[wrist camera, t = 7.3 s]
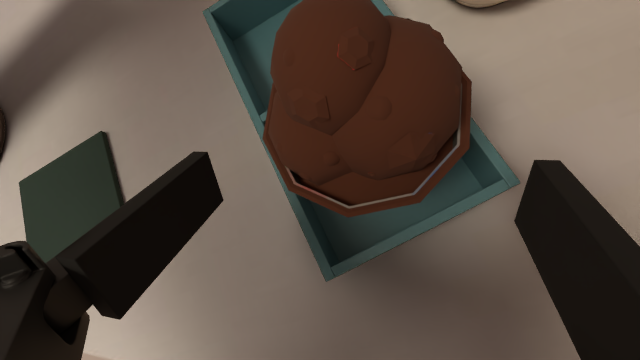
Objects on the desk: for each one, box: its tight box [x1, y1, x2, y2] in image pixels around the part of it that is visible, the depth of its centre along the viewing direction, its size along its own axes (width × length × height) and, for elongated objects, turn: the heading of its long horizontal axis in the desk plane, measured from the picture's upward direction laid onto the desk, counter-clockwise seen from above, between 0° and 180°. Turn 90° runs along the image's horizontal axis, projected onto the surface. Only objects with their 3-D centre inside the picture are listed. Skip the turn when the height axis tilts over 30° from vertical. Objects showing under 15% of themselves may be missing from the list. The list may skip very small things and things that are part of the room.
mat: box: [19, 131, 124, 263], centre depth 32 cm, size 12×12×1 cm
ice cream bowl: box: [262, 0, 472, 218], centre depth 17 cm, size 11×11×15 cm
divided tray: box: [203, 0, 520, 282], centre depth 25 cm, size 14×26×5 cm, turn 27°
